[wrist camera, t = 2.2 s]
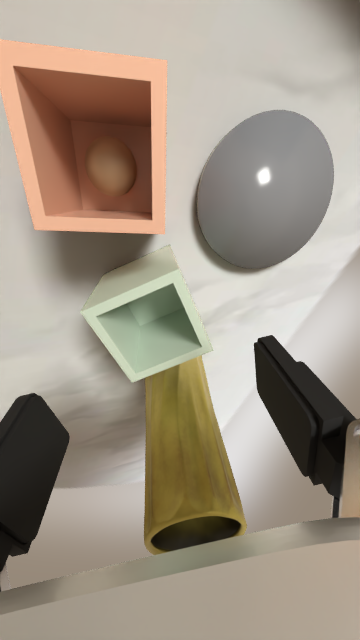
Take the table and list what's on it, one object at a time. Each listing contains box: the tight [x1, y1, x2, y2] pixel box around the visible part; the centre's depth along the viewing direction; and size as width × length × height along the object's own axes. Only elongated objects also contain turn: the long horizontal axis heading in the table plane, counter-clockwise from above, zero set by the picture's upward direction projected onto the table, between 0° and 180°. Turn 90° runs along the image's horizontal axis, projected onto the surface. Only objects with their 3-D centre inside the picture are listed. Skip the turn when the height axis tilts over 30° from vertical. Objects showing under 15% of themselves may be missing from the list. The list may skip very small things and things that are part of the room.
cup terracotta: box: [0, 39, 167, 234], centre depth 12 cm, size 6×6×7 cm
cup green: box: [80, 245, 213, 383], centre depth 17 cm, size 6×6×7 cm
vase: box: [144, 355, 247, 555], centre depth 18 cm, size 6×6×14 cm
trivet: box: [197, 110, 334, 268], centre depth 17 cm, size 10×10×1 cm
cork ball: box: [85, 136, 137, 197], centre depth 14 cm, size 3×3×3 cm
